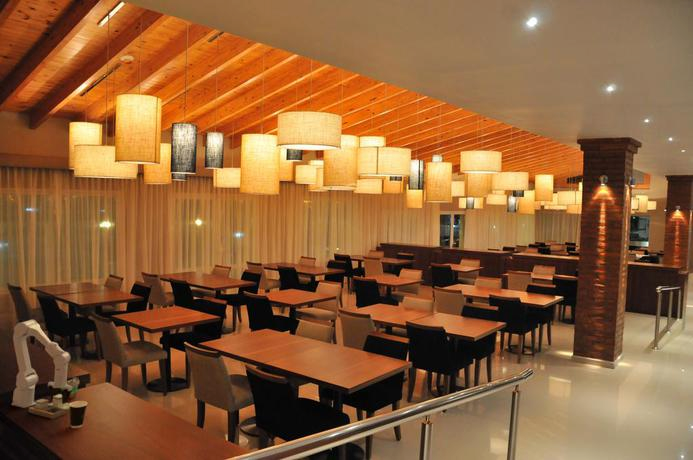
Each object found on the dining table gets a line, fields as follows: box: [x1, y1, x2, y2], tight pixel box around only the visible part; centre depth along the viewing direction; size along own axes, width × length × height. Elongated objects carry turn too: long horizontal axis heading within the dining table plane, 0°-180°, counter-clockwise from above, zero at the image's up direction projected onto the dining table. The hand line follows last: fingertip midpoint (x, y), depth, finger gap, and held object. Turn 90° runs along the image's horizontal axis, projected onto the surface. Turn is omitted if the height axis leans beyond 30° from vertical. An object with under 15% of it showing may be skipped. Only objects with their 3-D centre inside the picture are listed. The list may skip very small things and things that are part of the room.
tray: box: [48, 402, 70, 411], centre depth 273 cm, size 12×10×1 cm
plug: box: [51, 393, 65, 408], centre depth 273 cm, size 4×4×6 cm
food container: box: [60, 376, 80, 401], centre depth 288 cm, size 12×6×10 cm, turn 179°
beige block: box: [34, 398, 49, 410], centre depth 266 cm, size 4×4×6 cm
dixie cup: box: [69, 400, 88, 429], centre depth 253 cm, size 8×8×11 cm
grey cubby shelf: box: [28, 405, 67, 420], centre depth 265 cm, size 16×8×3 cm, turn 71°
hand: (58, 401), depth 273 cm, fingers open, 7 cm apart
